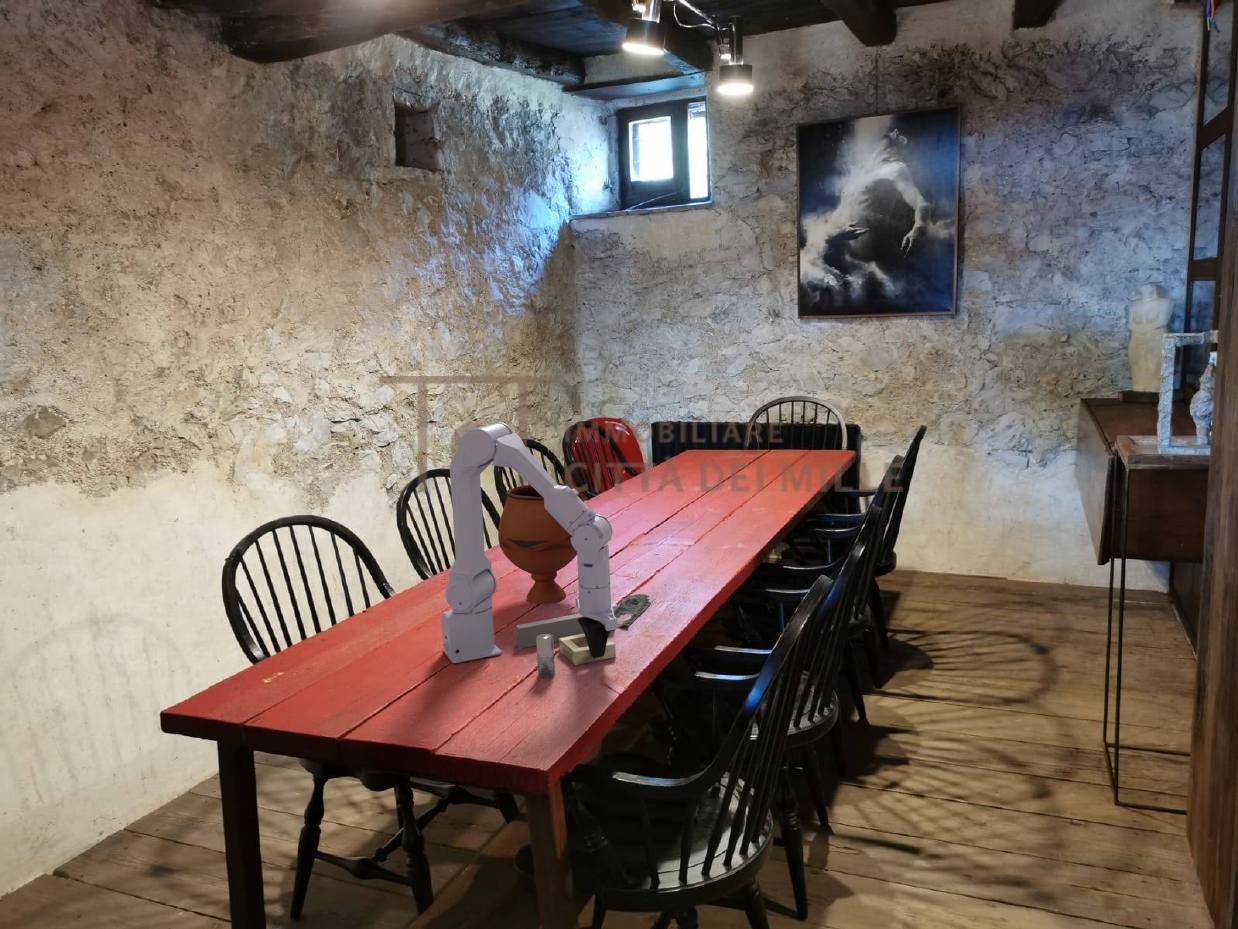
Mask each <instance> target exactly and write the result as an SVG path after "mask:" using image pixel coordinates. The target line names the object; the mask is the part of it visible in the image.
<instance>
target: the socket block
mask: <svg viewBox="0 0 1238 929" xmlns="http://www.w3.org/2000/svg"><path fill="white" fill-rule="evenodd" d="M558 642H559V643H558V644H559V646H558V647H559V652H560V653H561V654H562V655H564V657H566V658H567V659H568V660H569V661H570V662H572V664H574V665H575V666H579V665H583V664H589V663H593V662H598V661H603V660H607V659H611V658H616V657H617V653H616V651H617V650H616V643H615V642H613V641H612V640H611V639H609V638H608V640H607V644H606V649H605V654H604V656H603V657H598V658H593V657H592V656H591V654H590V651H589V647H588V643H587V640H586V637H585V634H579V635H574V636H569V637H564V638H559V641H558Z"/></svg>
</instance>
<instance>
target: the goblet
mask: <svg viewBox="0 0 1238 929" xmlns="http://www.w3.org/2000/svg"><path fill="white" fill-rule="evenodd" d="M556 483H557V485H561V486H568V487H569V488H570V489H571V490H572V489H573V488H572V487H571V486H570V485H568V484H567V483H566V484H565V483H561V482H556ZM499 520H500V521H499V524H498V530H497V531H498V532H497V538H498V544H499V547H500V550H501V551H502V553H503V554H504V556H505V557H506V558H507V559H508V560H509V562H510V563H511V564H513V565H514V566H515V567H517V568H518V569H520V570H522V571H523V572H526V573H528V574H530V579H531V580H533V581H534V584H533V585H532V587H531V588H530V589H529V591H528V592H527V595H526V600H527V601H528V602H529V603H532V604H539V605H540V604H541V605H543V604H544V605H545V604H552V603H556V602H559V601H562V600H564V599H565V598H566V597H567V594H566V592H565V590H564V588H562V587H561V586H560V585H559V583H557V582H556V581H555V579H556V578H557V577H558V572H559V571H561V570H562V569H564V568H565V567H566V566H568V565H569V564H570V563H571V562H572V561H573V560H574V559H575V558H576V557H577V551H576V550H575V549H574V547H573V546H572V543H571V537H573V536H572V535H570V534H569V533H568V532H567V531H566V530H565V529H564V528H563V527H562V526H561V525H560V524H559V523H558V522H557V521H556V520H555V518H554V517H553V516H552V515H551V514H550V513H549V512H548V511H547V510H546V509H545V507H544V497H543V496H541V495H540V494H539V493H538V492H537V491H536V490H535V489H534V488H533V487H532V486H531V485H530V484H525V485H522V486H521V485H520V486H515V487H513V488H510V489H508V490H507V491H506V500H505V503H504V506H503V509H502V512H501V516H500V519H499Z"/></svg>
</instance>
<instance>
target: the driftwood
mask: <svg viewBox="0 0 1238 929" xmlns="http://www.w3.org/2000/svg"><path fill="white" fill-rule="evenodd" d="M650 600H651V599H650V596H649V595H647V594H645V593H637V594H633V595H632V594H631V595H630V594H629V595H627V597H625V598H624V599H623V600H622V602H620V604H619V605H617V609H615V617H616V618H617V619H619V618H620V617H621V616H625V615H630V618H629V619H626V620H623V621H622V623H617V628H618V629H619V628H622V627H630V625H631V624H632V623H633V622H634V621H635V620H636V619H637V618H638V617H639V616H640V615H641V614H642V613H643V612H644V611H645V610H646V609H647V608H648V607H649V606H650V605H651V604H652V602H651V601H650Z"/></svg>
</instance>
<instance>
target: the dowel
mask: <svg viewBox="0 0 1238 929" xmlns="http://www.w3.org/2000/svg"><path fill="white" fill-rule="evenodd" d="M554 648H555V647H554V642H553V635H550V634H541V635H538V636H537V637H536V660H537V676H538V677H539V678H542V679H549V678H550V679H551V678H552V677H554V676H556V666H555V664H556V663H555V650H554Z"/></svg>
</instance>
